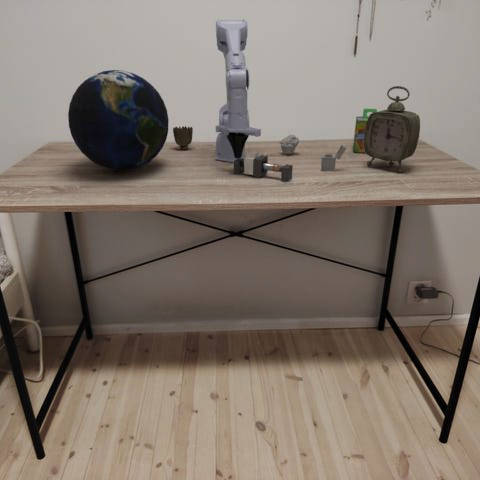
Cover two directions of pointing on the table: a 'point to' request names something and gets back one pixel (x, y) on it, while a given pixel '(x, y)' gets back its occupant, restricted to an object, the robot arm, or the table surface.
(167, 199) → the table surface
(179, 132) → the cup
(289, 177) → the linear slide rail
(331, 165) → the lighter
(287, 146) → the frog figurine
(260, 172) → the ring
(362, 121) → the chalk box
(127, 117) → the globe
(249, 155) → the sleeve
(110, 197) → the table surface
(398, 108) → the tabletop clock
